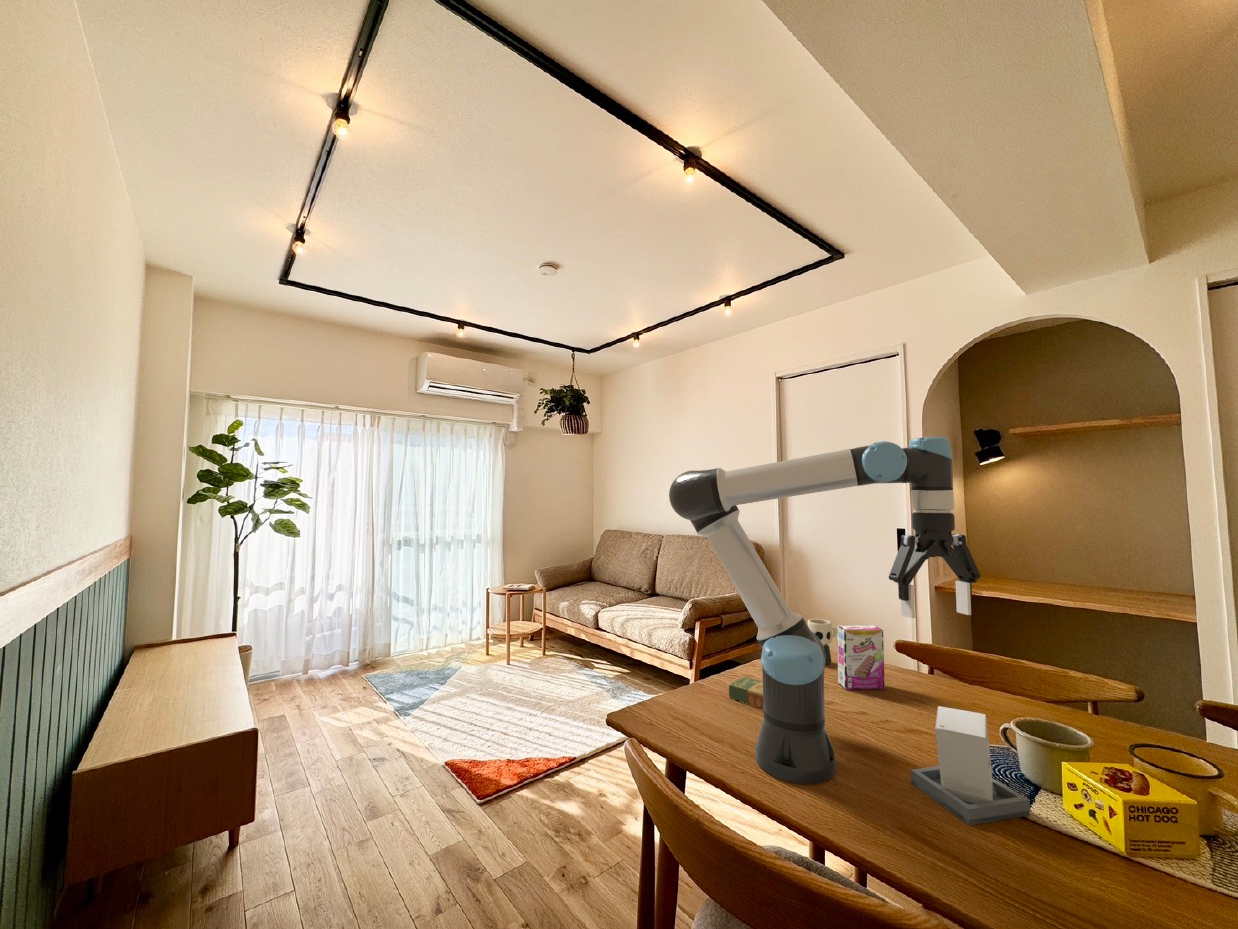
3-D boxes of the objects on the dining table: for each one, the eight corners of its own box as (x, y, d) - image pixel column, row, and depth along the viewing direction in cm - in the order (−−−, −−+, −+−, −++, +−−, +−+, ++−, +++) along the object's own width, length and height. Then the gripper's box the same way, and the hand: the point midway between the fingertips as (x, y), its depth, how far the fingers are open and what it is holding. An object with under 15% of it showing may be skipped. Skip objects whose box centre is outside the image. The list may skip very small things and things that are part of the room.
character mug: (808, 667, 155) (807, 624, 156) (799, 659, 162) (798, 619, 163) (843, 666, 155) (841, 623, 156) (832, 658, 162) (830, 618, 163)
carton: (785, 718, 120) (785, 700, 120) (728, 700, 131) (727, 683, 131) (801, 707, 126) (800, 690, 126) (744, 691, 137) (744, 675, 137)
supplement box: (994, 810, 82) (986, 738, 81) (941, 795, 87) (933, 727, 86) (994, 780, 88) (986, 713, 87) (944, 768, 92) (936, 704, 91)
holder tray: (969, 825, 80) (968, 809, 80) (911, 783, 92) (910, 769, 92) (1029, 815, 82) (1029, 799, 82) (965, 775, 94) (964, 762, 94)
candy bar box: (846, 690, 136) (844, 629, 137) (837, 684, 141) (835, 625, 142) (886, 690, 136) (883, 629, 137) (876, 683, 141) (874, 624, 142)
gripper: (966, 510, 110) (970, 608, 108) (867, 511, 105) (870, 613, 103) (998, 511, 103) (1003, 616, 101) (894, 512, 97) (898, 622, 96)
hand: (936, 615), depth 102 cm, fingers open, 13 cm apart
